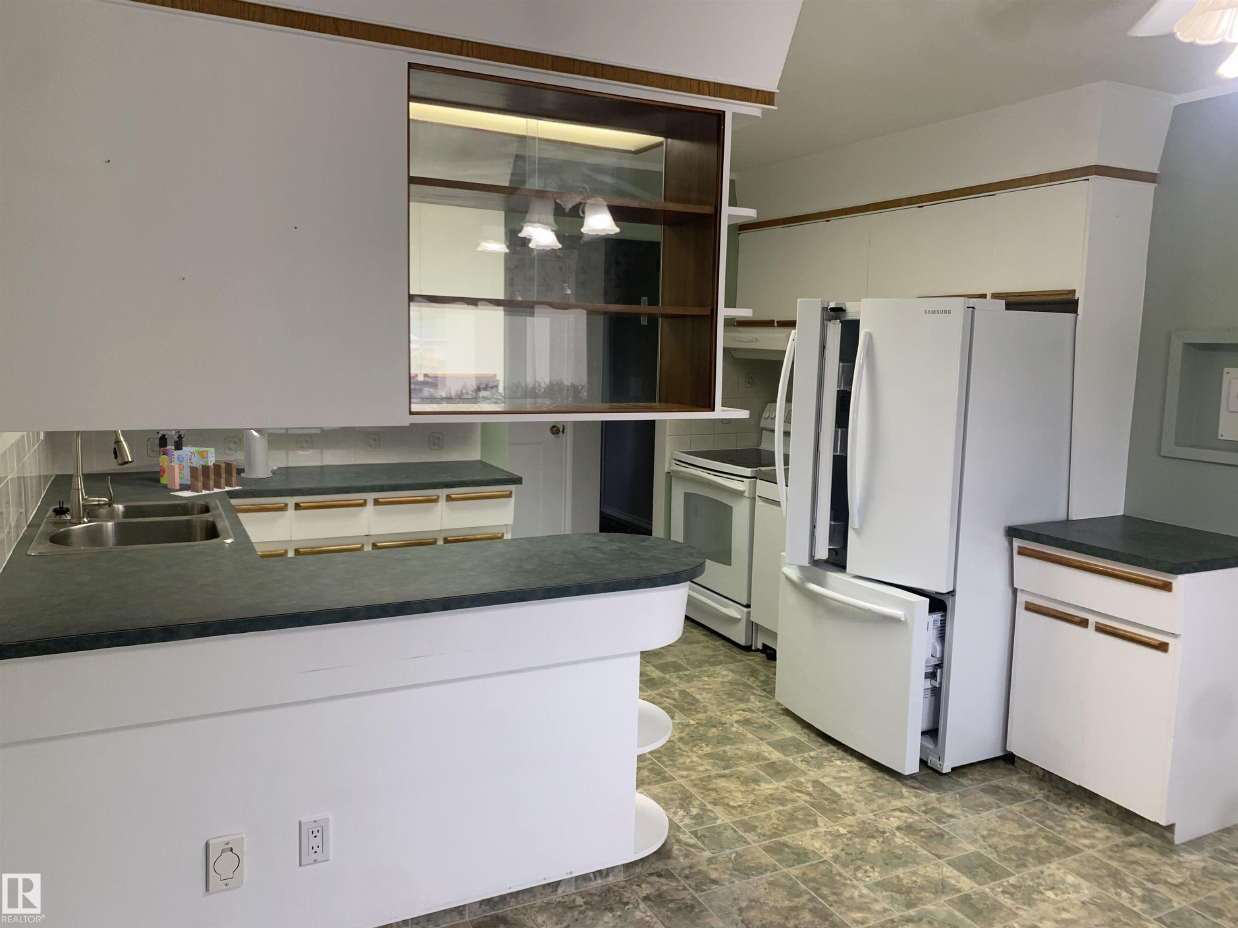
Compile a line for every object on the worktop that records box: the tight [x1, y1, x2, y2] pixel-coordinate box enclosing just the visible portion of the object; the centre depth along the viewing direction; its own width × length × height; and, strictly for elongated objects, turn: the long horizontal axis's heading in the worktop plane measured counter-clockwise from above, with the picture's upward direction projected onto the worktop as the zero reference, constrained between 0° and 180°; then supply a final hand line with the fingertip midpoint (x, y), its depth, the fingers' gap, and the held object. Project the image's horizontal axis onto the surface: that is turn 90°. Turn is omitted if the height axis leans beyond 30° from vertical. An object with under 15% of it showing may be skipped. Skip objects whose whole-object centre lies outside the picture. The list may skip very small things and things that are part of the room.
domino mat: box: [169, 485, 243, 498], centre depth 347 cm, size 25×10×1 cm, turn 150°
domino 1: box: [167, 464, 180, 490], centre depth 348 cm, size 2×5×10 cm, turn 60°
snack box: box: [158, 445, 216, 485], centre depth 360 cm, size 21×6×15 cm, turn 84°
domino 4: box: [213, 462, 225, 489], centre depth 351 cm, size 2×5×10 cm, turn 60°
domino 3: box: [201, 464, 214, 491], centre depth 347 cm, size 2×5×10 cm, turn 60°
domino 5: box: [223, 461, 237, 488], centre depth 355 cm, size 2×5×10 cm, turn 60°
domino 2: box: [189, 466, 203, 493], centre depth 342 cm, size 2×5×10 cm, turn 60°
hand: (170, 449), depth 346 cm, fingers open, 9 cm apart
